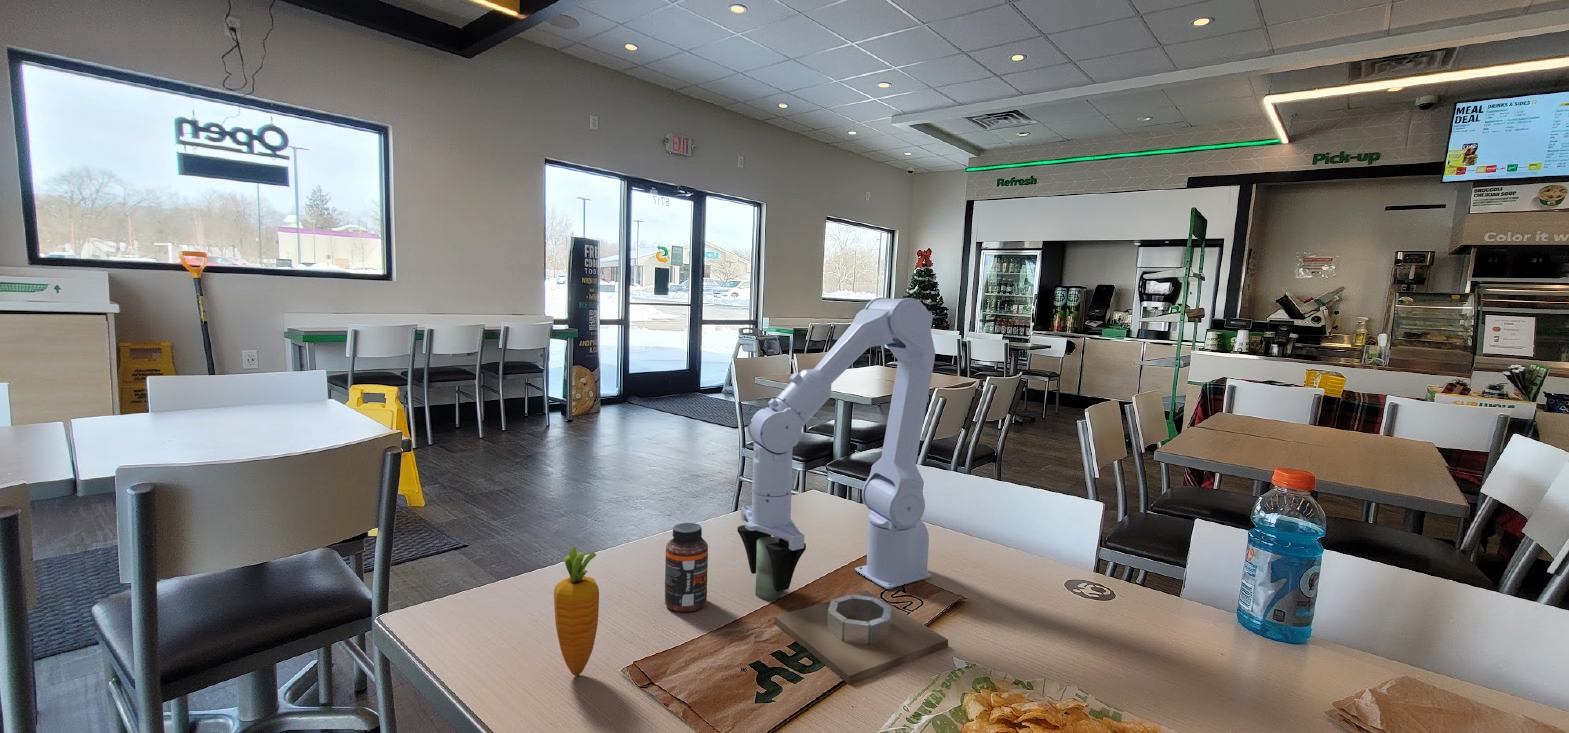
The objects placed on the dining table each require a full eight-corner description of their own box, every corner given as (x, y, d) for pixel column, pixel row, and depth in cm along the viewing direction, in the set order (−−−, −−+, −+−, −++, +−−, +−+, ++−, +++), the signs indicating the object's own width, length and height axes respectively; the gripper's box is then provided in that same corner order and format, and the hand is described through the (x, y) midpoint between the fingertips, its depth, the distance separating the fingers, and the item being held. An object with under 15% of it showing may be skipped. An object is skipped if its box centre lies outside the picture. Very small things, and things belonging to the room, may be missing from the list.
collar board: (866, 596, 96) (866, 590, 96) (947, 647, 83) (948, 639, 83) (774, 623, 88) (774, 616, 87) (848, 684, 74) (849, 676, 74)
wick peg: (773, 585, 99) (774, 534, 98) (787, 596, 96) (789, 543, 95) (750, 591, 97) (751, 539, 96) (764, 602, 94) (765, 548, 93)
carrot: (560, 664, 77) (559, 540, 75) (603, 663, 77) (603, 540, 75) (548, 689, 72) (547, 558, 70) (594, 688, 72) (594, 557, 71)
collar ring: (863, 608, 91) (863, 590, 90) (903, 633, 84) (903, 615, 84) (816, 622, 86) (817, 604, 86) (854, 650, 80) (855, 630, 79)
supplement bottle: (699, 616, 89) (700, 536, 88) (658, 611, 90) (658, 532, 89) (712, 597, 95) (713, 521, 94) (673, 592, 96) (674, 518, 95)
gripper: (724, 481, 99) (722, 568, 100) (774, 509, 87) (772, 606, 88) (764, 476, 103) (762, 559, 104) (818, 501, 90) (814, 595, 92)
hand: (769, 580), depth 96 cm, fingers open, 6 cm apart
